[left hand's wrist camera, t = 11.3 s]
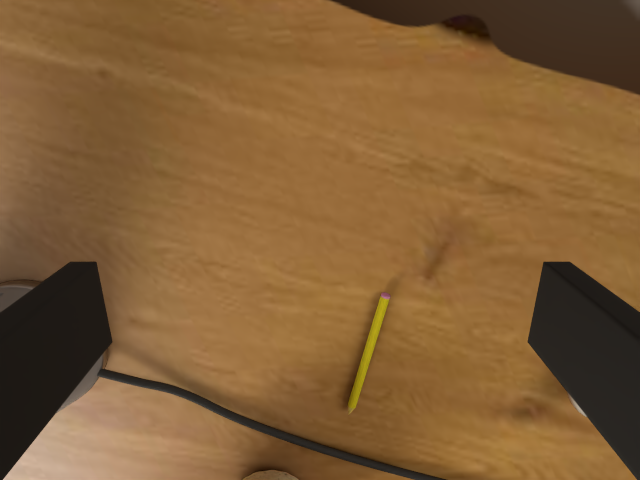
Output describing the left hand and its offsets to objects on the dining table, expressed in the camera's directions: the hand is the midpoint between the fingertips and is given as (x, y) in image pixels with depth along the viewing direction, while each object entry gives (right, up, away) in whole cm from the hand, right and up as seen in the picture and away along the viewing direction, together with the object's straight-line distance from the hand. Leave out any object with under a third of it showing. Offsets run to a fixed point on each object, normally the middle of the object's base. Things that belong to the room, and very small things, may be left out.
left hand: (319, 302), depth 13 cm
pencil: (+5, -11, +36) cm, 38 cm away
